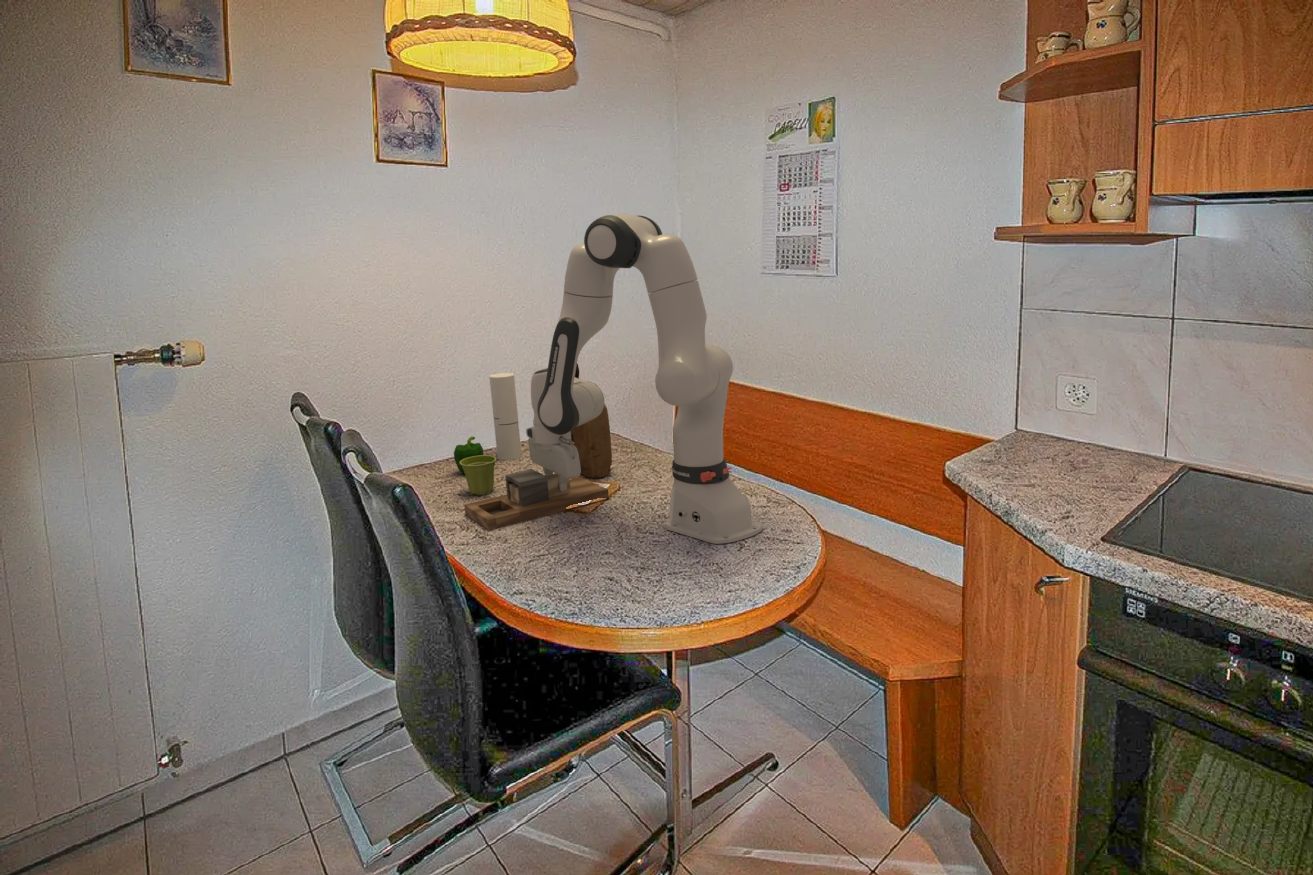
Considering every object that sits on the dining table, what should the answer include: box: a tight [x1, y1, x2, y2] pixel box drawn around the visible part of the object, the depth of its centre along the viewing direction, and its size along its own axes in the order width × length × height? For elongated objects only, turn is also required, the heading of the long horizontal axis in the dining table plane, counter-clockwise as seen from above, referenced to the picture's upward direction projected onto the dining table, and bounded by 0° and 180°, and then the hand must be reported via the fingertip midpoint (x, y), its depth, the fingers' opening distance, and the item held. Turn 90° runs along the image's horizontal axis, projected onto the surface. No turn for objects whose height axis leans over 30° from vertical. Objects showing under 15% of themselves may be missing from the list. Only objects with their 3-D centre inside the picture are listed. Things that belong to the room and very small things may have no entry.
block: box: [573, 403, 613, 479], centre depth 217 cm, size 11×8×20 cm
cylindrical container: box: [489, 372, 523, 461], centre depth 237 cm, size 7×7×25 cm
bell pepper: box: [453, 436, 484, 474], centre depth 225 cm, size 8×8×10 cm
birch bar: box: [509, 473, 571, 505], centre depth 194 cm, size 4×14×4 cm, turn 125°
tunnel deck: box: [464, 468, 610, 531], centre depth 194 cm, size 14×32×8 cm, turn 125°
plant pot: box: [460, 454, 497, 496], centre depth 208 cm, size 9×9×9 cm
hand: (556, 487), depth 197 cm, fingers closed on birch bar, 4 cm apart
